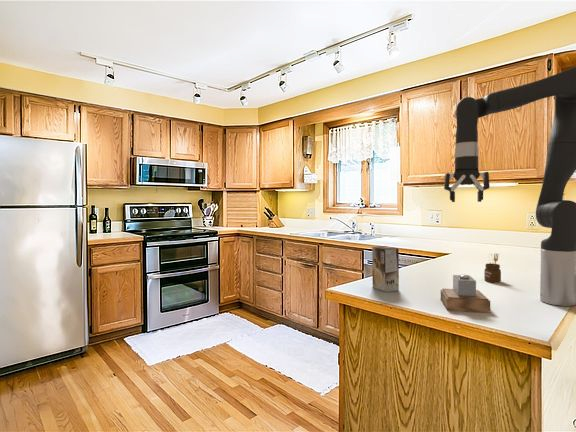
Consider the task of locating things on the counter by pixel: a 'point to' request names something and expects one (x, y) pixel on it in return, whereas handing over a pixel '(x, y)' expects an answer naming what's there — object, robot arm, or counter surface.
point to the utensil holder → (492, 271)
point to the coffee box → (385, 268)
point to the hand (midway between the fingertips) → (466, 201)
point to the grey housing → (464, 285)
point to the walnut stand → (465, 302)
